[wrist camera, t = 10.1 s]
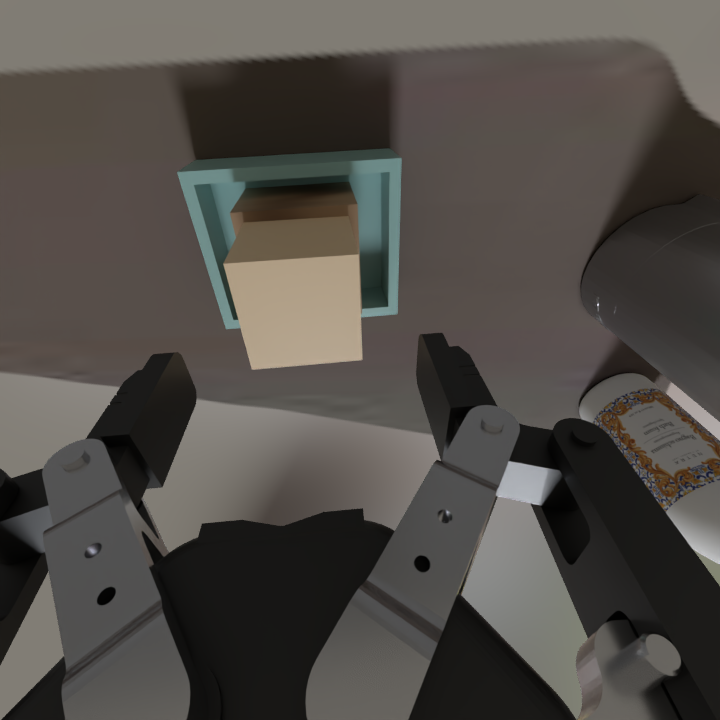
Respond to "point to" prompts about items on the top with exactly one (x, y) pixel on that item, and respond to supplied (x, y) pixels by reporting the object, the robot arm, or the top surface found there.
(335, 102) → the top surface
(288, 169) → the tote
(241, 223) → the block
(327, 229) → the light box
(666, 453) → the bath foam
